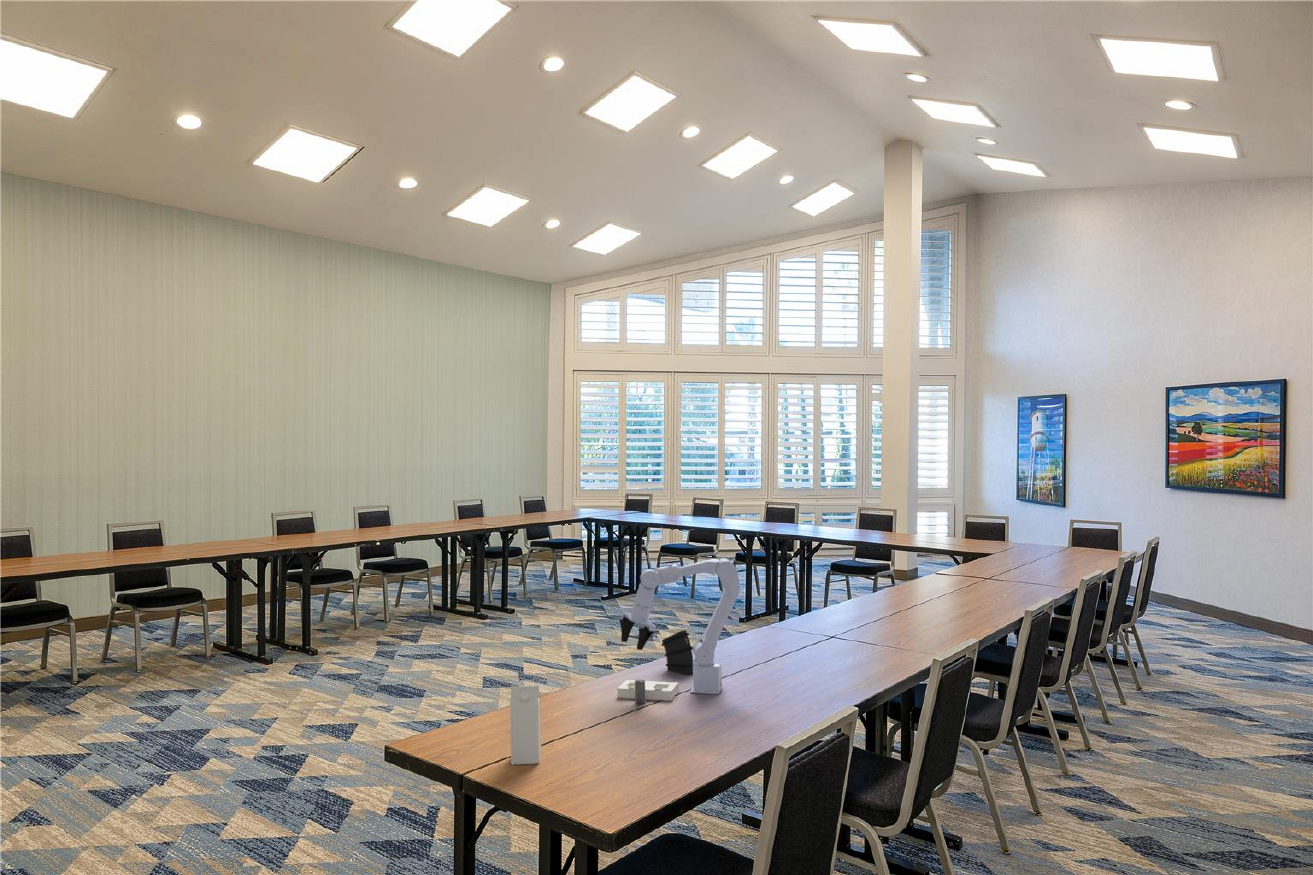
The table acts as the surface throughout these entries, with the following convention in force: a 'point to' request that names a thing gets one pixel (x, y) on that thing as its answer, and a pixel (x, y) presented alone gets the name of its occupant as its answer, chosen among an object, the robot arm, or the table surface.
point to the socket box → (649, 690)
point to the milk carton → (525, 725)
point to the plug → (640, 692)
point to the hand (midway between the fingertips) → (631, 645)
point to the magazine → (679, 653)
